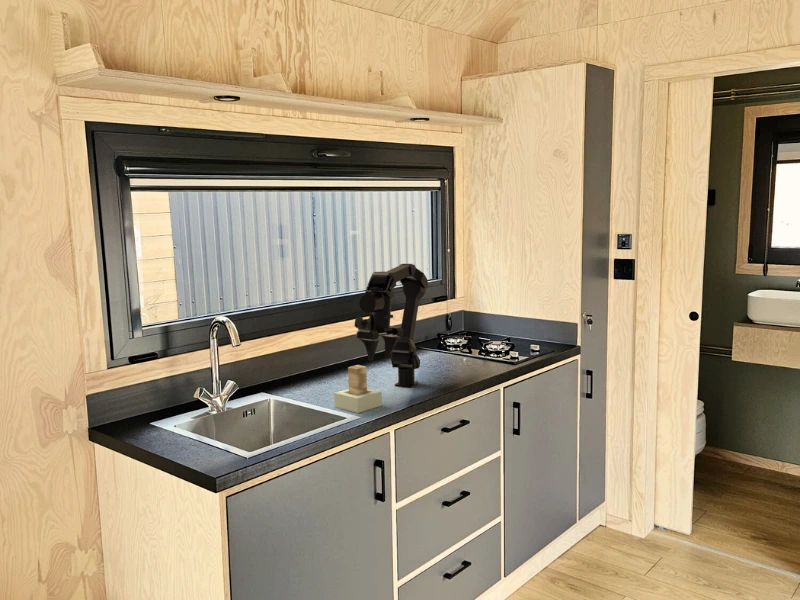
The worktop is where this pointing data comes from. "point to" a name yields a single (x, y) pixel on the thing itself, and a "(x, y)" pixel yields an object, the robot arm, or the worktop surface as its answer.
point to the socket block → (358, 400)
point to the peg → (357, 380)
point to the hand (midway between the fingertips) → (378, 359)
